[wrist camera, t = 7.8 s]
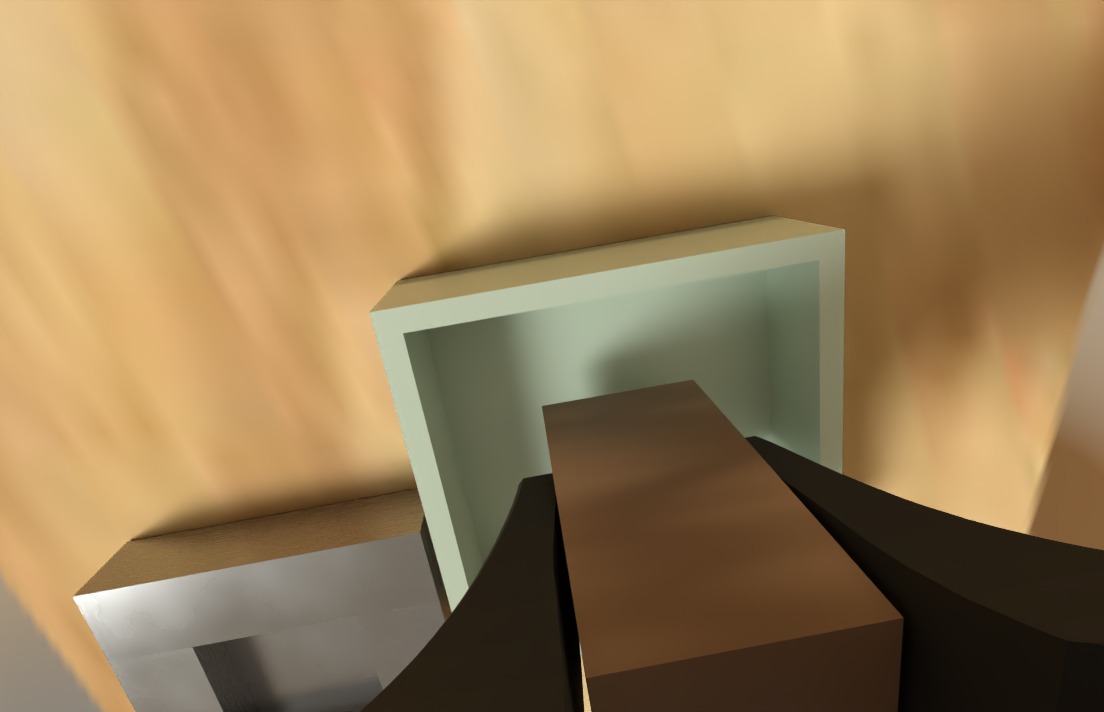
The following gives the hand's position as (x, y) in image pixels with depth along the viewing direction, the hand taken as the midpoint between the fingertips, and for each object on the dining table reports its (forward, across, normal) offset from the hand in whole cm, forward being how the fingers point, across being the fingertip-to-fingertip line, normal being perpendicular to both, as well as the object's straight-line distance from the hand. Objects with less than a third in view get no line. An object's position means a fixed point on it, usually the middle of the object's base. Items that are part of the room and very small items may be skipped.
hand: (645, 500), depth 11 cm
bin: (+4, 0, 0) cm, 4 cm away
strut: (+2, 0, 0) cm, 2 cm away
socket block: (+4, +9, +5) cm, 11 cm away
